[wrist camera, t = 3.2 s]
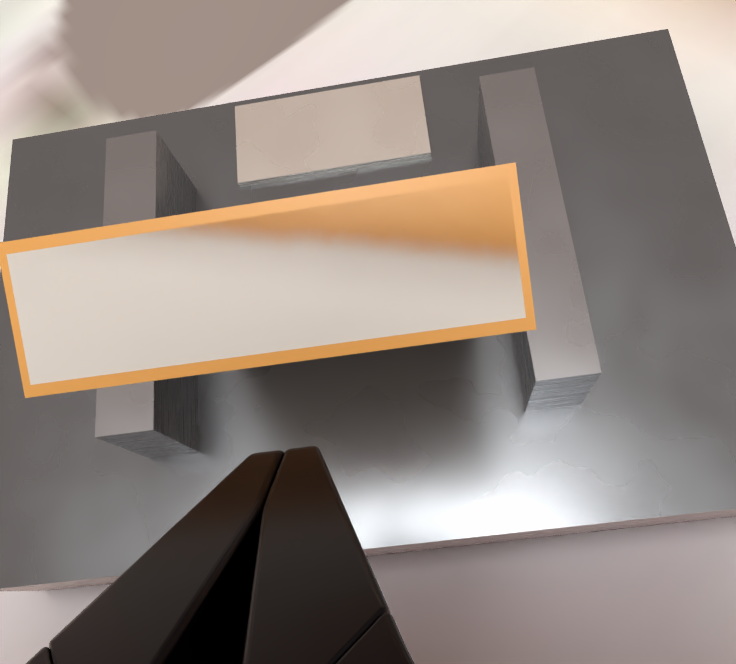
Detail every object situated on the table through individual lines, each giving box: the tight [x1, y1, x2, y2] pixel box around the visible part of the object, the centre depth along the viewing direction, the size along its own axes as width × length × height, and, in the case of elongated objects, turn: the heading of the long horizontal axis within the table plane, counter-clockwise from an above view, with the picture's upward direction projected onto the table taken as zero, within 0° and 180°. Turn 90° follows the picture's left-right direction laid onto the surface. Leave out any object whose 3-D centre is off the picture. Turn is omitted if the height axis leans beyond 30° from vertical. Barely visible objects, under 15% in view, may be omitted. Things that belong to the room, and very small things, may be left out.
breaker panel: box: [0, 29, 736, 591], centre depth 17 cm, size 12×18×6 cm, turn 96°
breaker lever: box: [0, 162, 536, 398], centre depth 12 cm, size 2×6×8 cm, turn 95°
